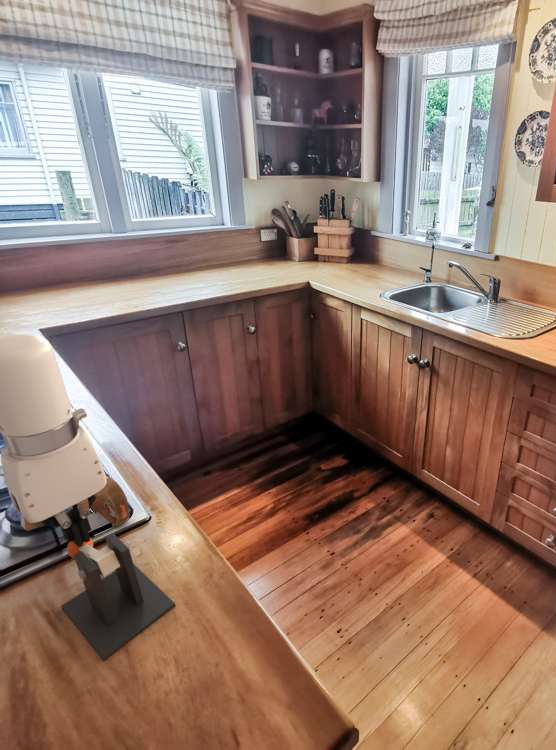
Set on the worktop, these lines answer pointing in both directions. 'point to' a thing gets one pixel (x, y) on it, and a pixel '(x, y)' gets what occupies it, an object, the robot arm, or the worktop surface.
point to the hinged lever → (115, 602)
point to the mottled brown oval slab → (112, 504)
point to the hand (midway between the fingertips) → (79, 539)
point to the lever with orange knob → (96, 556)
